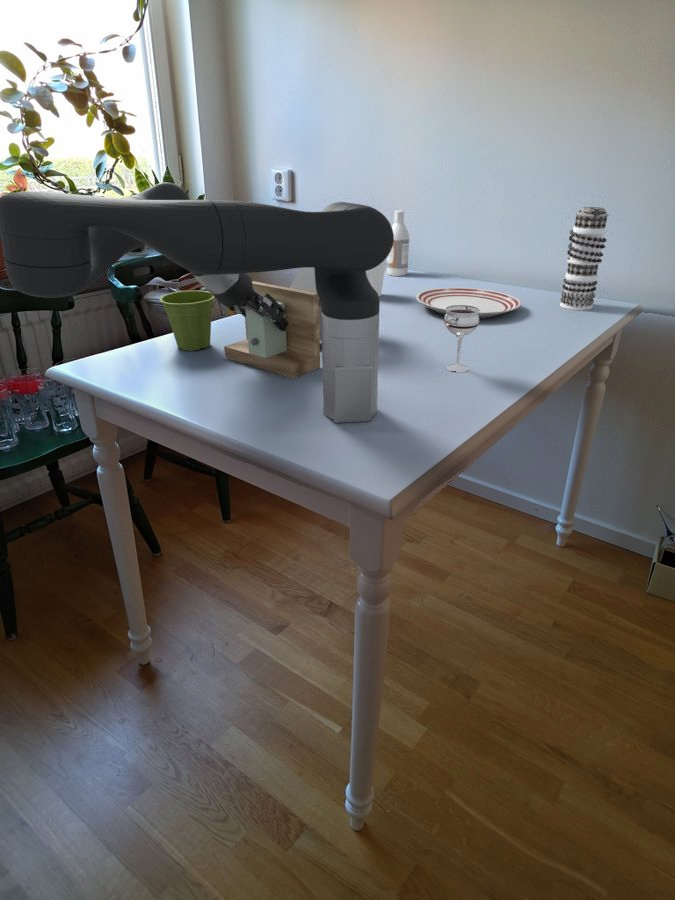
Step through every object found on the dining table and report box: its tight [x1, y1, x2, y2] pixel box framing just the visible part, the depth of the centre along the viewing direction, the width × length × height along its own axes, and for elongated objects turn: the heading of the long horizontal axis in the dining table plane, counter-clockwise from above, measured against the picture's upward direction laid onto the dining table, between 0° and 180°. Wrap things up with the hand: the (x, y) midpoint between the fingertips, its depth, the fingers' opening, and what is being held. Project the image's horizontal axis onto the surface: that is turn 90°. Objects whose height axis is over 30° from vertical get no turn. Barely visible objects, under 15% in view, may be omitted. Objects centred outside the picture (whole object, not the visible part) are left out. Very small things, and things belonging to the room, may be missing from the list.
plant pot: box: [159, 289, 216, 352], centre depth 135 cm, size 12×12×11 cm
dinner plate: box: [415, 286, 522, 319], centre depth 163 cm, size 27×27×3 cm
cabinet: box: [245, 301, 287, 358], centre depth 123 cm, size 7×5×10 cm
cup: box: [366, 258, 387, 298], centre depth 175 cm, size 9×9×12 cm
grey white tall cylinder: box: [559, 206, 610, 311], centre depth 160 cm, size 9×9×25 cm
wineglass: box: [443, 305, 480, 373], centre depth 120 cm, size 7×7×12 cm
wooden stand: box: [223, 280, 321, 379], centre depth 124 cm, size 8×20×15 cm, turn 50°
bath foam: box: [386, 210, 410, 277], centre depth 200 cm, size 7×7×20 cm
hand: (270, 323), depth 124 cm, fingers open, 8 cm apart
